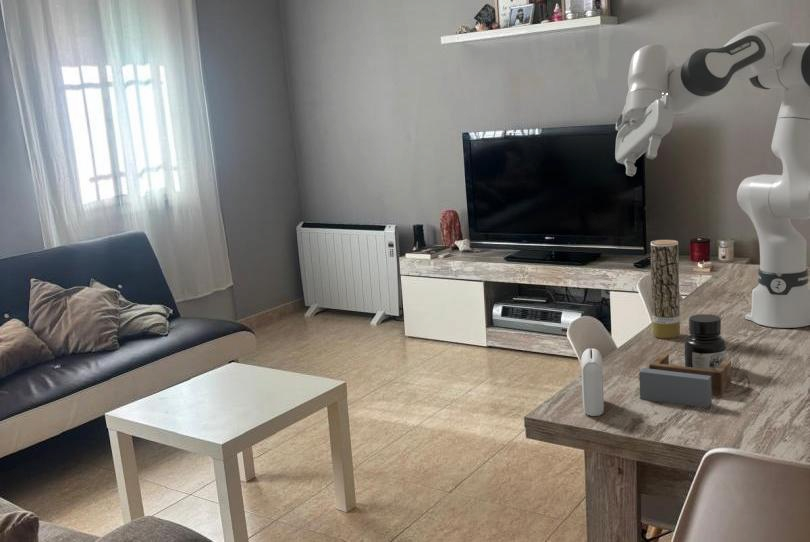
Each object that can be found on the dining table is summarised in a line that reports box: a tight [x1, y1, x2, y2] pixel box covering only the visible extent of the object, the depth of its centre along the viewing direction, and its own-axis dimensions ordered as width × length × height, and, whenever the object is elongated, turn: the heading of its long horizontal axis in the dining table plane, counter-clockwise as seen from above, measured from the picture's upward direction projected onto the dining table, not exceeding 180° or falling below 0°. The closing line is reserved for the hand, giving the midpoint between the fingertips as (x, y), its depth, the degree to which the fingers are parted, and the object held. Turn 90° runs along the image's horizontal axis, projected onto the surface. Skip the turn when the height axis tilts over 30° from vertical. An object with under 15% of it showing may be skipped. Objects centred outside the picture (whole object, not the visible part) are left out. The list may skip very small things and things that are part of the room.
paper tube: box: [650, 239, 681, 340], centre depth 213 cm, size 7×7×25 cm
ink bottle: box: [684, 313, 727, 370], centre depth 187 cm, size 10×9×12 cm
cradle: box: [648, 353, 732, 396], centre depth 179 cm, size 8×15×5 cm, turn 55°
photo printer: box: [580, 348, 605, 417], centre depth 170 cm, size 10×4×12 cm, turn 168°
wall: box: [638, 367, 713, 409], centre depth 170 cm, size 2×14×6 cm, turn 55°
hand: (640, 166), depth 179 cm, fingers open, 8 cm apart
